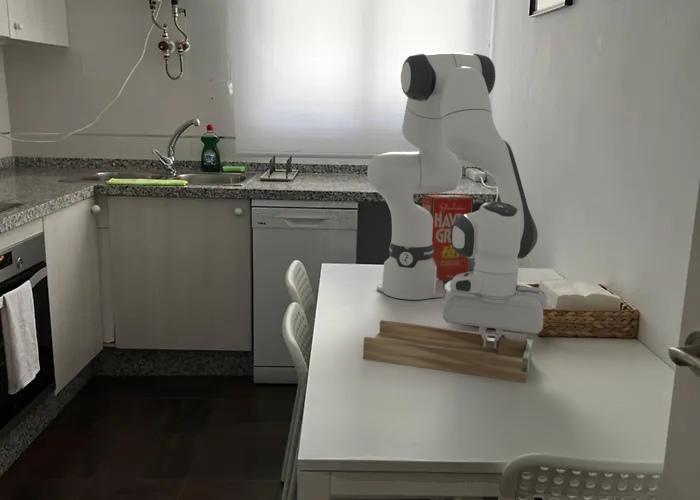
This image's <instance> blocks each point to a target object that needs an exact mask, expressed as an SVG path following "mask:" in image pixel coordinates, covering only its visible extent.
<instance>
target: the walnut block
mask: <svg viewBox="0 0 700 500" xmlns="http://www.w3.org/2000/svg"><path fill="white" fill-rule="evenodd" d="M527 339H528V334H523V333H517V332H509V331H504V332H503V334H502V336H501V337H500V340H499V353H498V355H503V356H510V357H518V358H523V356H524V352H525V348H526V342H527Z"/></svg>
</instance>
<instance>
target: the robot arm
mask: <svg viewBox="0 0 700 500" xmlns="http://www.w3.org/2000/svg"><path fill="white" fill-rule="evenodd" d="M401 68H402V69H401V72H400V84H401V90H402V92H403V93H404V95H405V96H406V97H407V99H406V104H405V105H406V106H405V110H404V115H403V116H404V117H403V121H402V127H401V128H402V129H401V130H402V135H403V136H404V137H403V138H405V140H406V141H407V142H408V143H409V144H410V145H412V146H414V147H415V148H417V149H418V151H390V152H389V151H388V152H384V153H379V154H376V155H374V156H373V157H372V158H371V160H370V162H369V164H368V166H367V172H366V174H367V180H368V183H369V184H370V187H371V188H372V189H374V190H375V191H376V192H377V193H378V194H380V196H381V197H382V198H383V199H384V200H385V203H386V204H387V206H388V209H389V211H390V217H391V242H390V243H389V258H387V259H386V260H385V261H384V263H383V272H382V281H381V284H379V285H377V286H376V290H377V291H379V292H382V293H384V294H385V295H386V296H389V297H392V298H395V299H400V300H401V299H402V300H413V301H414V300H415V301H416V300H417V301H418V300H427V299H432V298H435V299H436V298H443V297H444V281H441V280H439V278H436V270H437V266H436V263H435V261H434V259H433V256H434V248H433V242H432V234H433V217H432V215H431V213H430V212H429V211H428V210H426V209H424V208H423V207H422V205H419V204H417V203H415V199H414V194H440V193H447V192H451V191H455V190H456V189H457V188H458V187H459V185H460V183H461V182H462V179H463V178H462V177H463V167H462V164H461V162H460V160H459V159H458V158H460V159H462V160H463V161H467V162H470V163H472V164H475V165H477V166H479V167H481V168H482V169H484V170H486V171H487V172H488V173H490V175H491V176H492V177H493V179H494V181H495V185H496V187H497V188H496V189H497V192H498V195H499V199H500V201H489V202H488V201H487V202H485V203H483V204H481V205H480V206H479V209H478V210H476V211H474V212H473V213H469V214H465V215H461V216H460V217H458V218H457V220H456V221H455V222H454V224H453V226H452V229H451V245H452V247H453V249H454V250H455V251H456V252H457V253H458V254H459V255H460V256H462V257H466V258H474V259H475V265H474V270H473V271H469V272H466V273H461V274H458V275H456V276H455V277H454V278H453V279H452V280H451V283H450V288H451V290H450V291H449V293H448V294H446V296H445V299H444V300H445V301H444V304H443V310H442V319H443V320H444V322H445V323H447V324H456V325H462V326H463V325H464V326H471V327H478V333H480V335H481V336H482V338H483V340H484V344H483V347H484V348H492V349H496V348H497V342H498V340H499V338H500V337H501V336H502V334H503V332H505V331H512V332H520V333H527V334H535V335H538V334H539V333H541V331H543V327H544V309H545V308H546V307H547V300H548V296H547V294H546V292H545V291H544V290H542V289H540V288H539V287H537V286H536V287H535V286H532V287H526V286H520V285H517V282H518V279H519V278H518V276H519V265H518V260H522V259H524V258H526V257H527V256H528V255H529V254H530V253H531V252H532V250H534V248H535V246H536V245H537V244H538V243H537V242H538V237H539V235H538V229H537V226H536V223H535V220H534V219H533V216H532V214H531V212H530V209H529V205H528V202H527V198H526V195H525V191H524V188H523V187H524V186H523V184H522V180H521V175H520V171H519V169H518V165H517V162H516V158H515V156H514V153H513V150H512V147H511V145H510V144H509V143H508V142H507V141H506V140H504V138H502V136H501V135H500V133H499V132H498V130H497V128H496V124H495V122H494V120H493V119H494V118H493V112H492V111H493V110H492V104H491V99H490V98H491V97H490V94H491V93H492V91H493V90H494V87H495V84H496V83H495V82H496V67H495V64H494V63H493V61H492V59H491V58H490V57H489V56H487V55H484V54H479V53H473V54H471V53H465V52H451V51H449V52H435V53H434V52H433V53H427V54H425V53H415V54H411V55H409V56H408V57H406V59H405V60H404V61H403V64H402V67H401ZM488 329H495V335H497V336H496V337H495V338H488V336H487V334H488V333H487V330H488ZM504 330H505V331H504Z"/></svg>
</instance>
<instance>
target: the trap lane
mask: <svg viewBox="0 0 700 500" xmlns="http://www.w3.org/2000/svg"><path fill="white" fill-rule="evenodd" d="M486 334H487V336H488V338H495V337H496V336H497V334H492V333H486ZM499 340H500V338H499ZM499 340H498V342H497V348H496V349H492V348H484V347H483V344H484V340H483V338H482V336H481V335H480V333H479V331H478V332H476V331H470V330H463V329H462V330H461V329H452V328H446V327H438V326H437V327H436V326H431V325H430V326H429V325H424V324H423V325H421V324H415V323H414V324H413V323H407V322H398V321H391V320H383V319H381V320H380V321H379V332H378V333H377V334H376V335H375V337H371V336H365V337H363V353H362V355H363V357H362V359H363V360H367V361H368V360H369V361H377V362H381V363H382V362H383V363H388V364H396V365H402V366H409V367H410V366H411V367H417V368H423V369H431V370H439V371H445V372H450V373H456V374H457V373H458V374H463V375H464V374H465V375H471V376H477V377H486V378H490V379H491V378H492V379H499V380H505V381H511V382H520V383H527V378H528V375H529V370H530V366H531V363H532V353H533V344H534V343H533V342H534V339H532V338H527V342H526V348H525V352H524V356H523V358H518V357H510V356H503V355H498V353H499Z"/></svg>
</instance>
